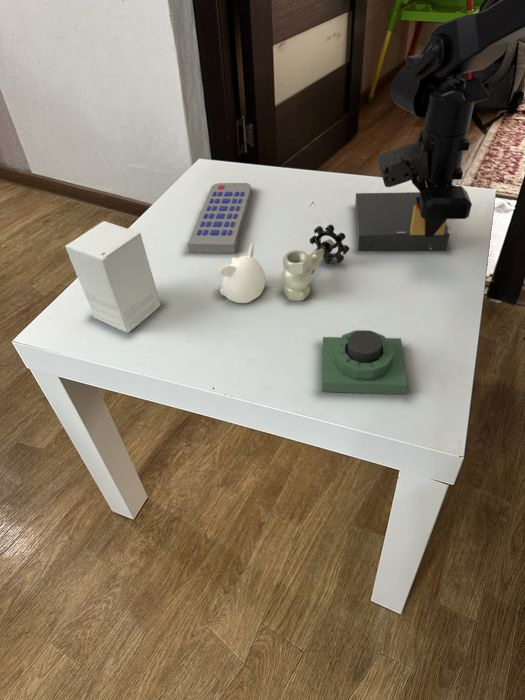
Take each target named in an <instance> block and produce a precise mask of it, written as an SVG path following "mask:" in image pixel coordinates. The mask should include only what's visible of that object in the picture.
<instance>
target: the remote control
mask: <svg viewBox="0 0 525 700" xmlns="http://www.w3.org/2000/svg"><path fill="white" fill-rule="evenodd" d="M251 198H252V185H251V184H250V183H248V182H219V183H214V184H212V185H211V186H210V189H209V191H208V193H207V196H206V198H205V201H204V203H203V206H202V209H201V210H200V213H199V215H198V217H197V221H196V223H195V226H194V228H193V231H192V232H191V235H190V238H189V240H188V241H187V247H188V252H189V254H235V253H236V251H237V247H238V243H239V241H240V237H241V233H242V231H243V226H244V223H245V219H246V216H247V213H248V209H249V205H250V202H251Z"/></svg>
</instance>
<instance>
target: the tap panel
mask: <svg viewBox="0 0 525 700" xmlns="http://www.w3.org/2000/svg"><path fill="white" fill-rule="evenodd" d="M416 197H420V191H416V192H415V191H413V192H411V191H410V192H358V193H357V192H356V193H355V199H354V201H355V202H354V203H355V204H354V215H355V216H354V217H355V228H356V229H355V230H356V242H357V243H356V244H357V245H356V246H357V251H358V252H421V251H422V252H425V251H427V252H429V251H430V252H431V251H432V252H433V251H434V252H436V251H438V252H439V251H442V252H444V251H447V248H448V243H449V240H450V234H458V231H456V230H455V231H451V230H450V231H449V228H448V225H447V224H446V225H445V230H444V234H443V235H433V236H432V237H425V235H411V234H410V226H411V220H412V214H413V208H414V205H415V204H417V200H416Z"/></svg>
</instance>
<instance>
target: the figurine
mask: <svg viewBox="0 0 525 700" xmlns="http://www.w3.org/2000/svg"><path fill="white" fill-rule="evenodd" d="M254 252H255V245H254V243H253V242H251V244H250V246H249V250H248V255H241V256H239V257H235V256H233V257H232V258H231V263H228V262H225V263H224V264H223V266H221V267H220V268H219V271H218V272H219V274H220V275H221V276H223V277H222V280H221V288H220V289H219V292H220V294H221V296H224V297H225V298H227V299H228V300H230V301H231V302H234V303H239V304H247V303H250V302H252V301H254V300H255V299H257V298H258V297H259V296H260V295H262V293H263V291H264V289H265V287H266V286H265V285H266V274H265V271H264V268H263V267H262V265H261V264H260V263H261V262H259V261H258V260H257V259H256V258H254Z"/></svg>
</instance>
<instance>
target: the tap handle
mask: <svg viewBox="0 0 525 700" xmlns="http://www.w3.org/2000/svg"><path fill="white" fill-rule="evenodd" d="M447 221H448V219H447V220H446V221H445V222H444V223H443V225H442V226H441V227H440V228H439V229H438V231H437V232H436V233H435V234H434V235H443V234H444V230H445V225H447ZM410 234H411V235H425V219H424V218H422V217H421V214H420V210H419V207H418V204H415V205H414V208H413V214H412V220H411V226H410Z"/></svg>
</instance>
